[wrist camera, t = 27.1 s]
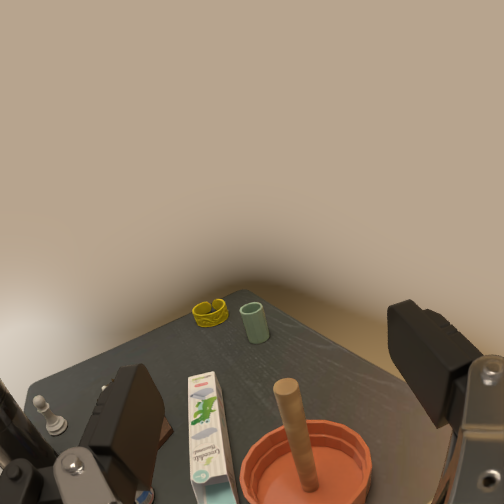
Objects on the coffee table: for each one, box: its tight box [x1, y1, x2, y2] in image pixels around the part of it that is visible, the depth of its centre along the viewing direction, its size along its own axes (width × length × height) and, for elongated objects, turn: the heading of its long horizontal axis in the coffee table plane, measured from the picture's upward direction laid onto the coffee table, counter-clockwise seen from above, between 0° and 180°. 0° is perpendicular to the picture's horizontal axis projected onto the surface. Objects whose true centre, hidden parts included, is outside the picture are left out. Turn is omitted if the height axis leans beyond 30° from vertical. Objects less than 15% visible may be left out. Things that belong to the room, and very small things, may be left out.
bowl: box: [239, 420, 372, 504], centre depth 29 cm, size 14×14×6 cm
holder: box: [240, 302, 270, 344], centre depth 63 cm, size 4×4×7 cm
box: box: [188, 371, 240, 504], centre depth 37 cm, size 4×4×28 cm
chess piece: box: [33, 395, 67, 435], centre depth 44 cm, size 5×5×8 cm
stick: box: [273, 378, 319, 493], centre depth 27 cm, size 2×2×18 cm
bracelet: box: [193, 299, 229, 327], centre depth 75 cm, size 7×8×3 cm
